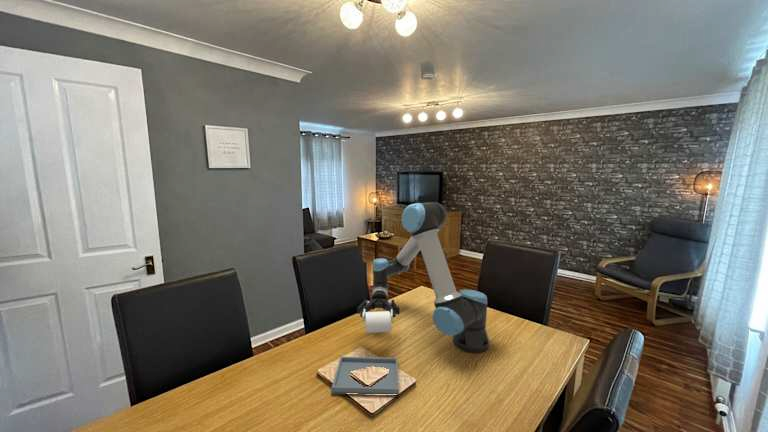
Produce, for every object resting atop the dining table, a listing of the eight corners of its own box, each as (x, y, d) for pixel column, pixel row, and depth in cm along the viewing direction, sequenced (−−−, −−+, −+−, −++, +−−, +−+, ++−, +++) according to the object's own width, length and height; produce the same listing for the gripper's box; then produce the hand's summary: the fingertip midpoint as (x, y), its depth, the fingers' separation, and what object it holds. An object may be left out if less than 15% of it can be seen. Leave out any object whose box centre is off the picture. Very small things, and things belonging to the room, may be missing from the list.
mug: (391, 335, 119) (391, 316, 118) (365, 336, 118) (365, 317, 117) (387, 321, 131) (387, 303, 130) (364, 322, 130) (364, 304, 129)
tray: (397, 364, 115) (397, 358, 115) (398, 396, 99) (398, 389, 98) (340, 362, 116) (340, 356, 116) (331, 394, 99) (331, 387, 99)
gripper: (404, 305, 142) (406, 328, 120) (355, 304, 142) (348, 327, 120) (404, 290, 141) (406, 310, 119) (355, 289, 141) (348, 310, 119)
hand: (377, 319), depth 120 cm, fingers closed on mug, 11 cm apart
